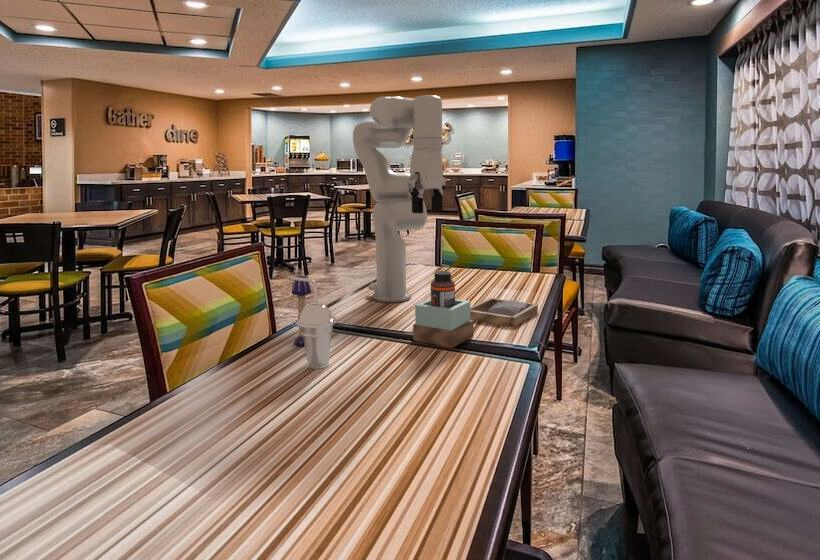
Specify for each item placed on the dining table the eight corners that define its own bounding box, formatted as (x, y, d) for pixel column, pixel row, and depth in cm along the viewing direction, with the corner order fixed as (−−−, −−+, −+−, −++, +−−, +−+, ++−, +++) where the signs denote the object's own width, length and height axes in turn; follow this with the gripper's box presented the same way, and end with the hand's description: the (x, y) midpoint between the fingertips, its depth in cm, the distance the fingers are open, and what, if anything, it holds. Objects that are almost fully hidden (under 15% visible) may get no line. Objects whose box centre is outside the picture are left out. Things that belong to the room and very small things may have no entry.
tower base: (413, 341, 135) (413, 324, 134) (436, 330, 144) (436, 314, 143) (451, 349, 129) (452, 331, 128) (473, 337, 138) (473, 320, 137)
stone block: (485, 325, 153) (520, 323, 149) (483, 309, 153) (517, 305, 148) (499, 316, 164) (531, 313, 159) (496, 301, 163) (529, 297, 159)
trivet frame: (463, 318, 153) (463, 310, 153) (490, 305, 167) (490, 297, 167) (514, 327, 145) (514, 318, 144) (538, 312, 159) (538, 304, 158)
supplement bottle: (427, 315, 136) (426, 271, 134) (448, 312, 138) (448, 268, 136) (436, 321, 131) (436, 275, 128) (459, 318, 133) (459, 273, 130)
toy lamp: (295, 340, 135) (291, 275, 132) (314, 340, 135) (311, 274, 132) (293, 347, 130) (289, 279, 127) (312, 346, 131) (309, 278, 127)
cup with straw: (331, 373, 114) (327, 280, 109) (290, 371, 115) (285, 278, 111) (342, 359, 122) (339, 271, 118) (304, 357, 123) (300, 270, 119)
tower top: (415, 324, 134) (415, 304, 133) (435, 315, 142) (435, 296, 141) (451, 330, 128) (451, 310, 127) (470, 320, 137) (470, 301, 136)
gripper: (432, 146, 151) (432, 208, 154) (396, 145, 137) (397, 213, 140) (456, 146, 146) (455, 210, 150) (421, 144, 132) (421, 214, 136)
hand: (427, 211), depth 145 cm, fingers open, 9 cm apart
